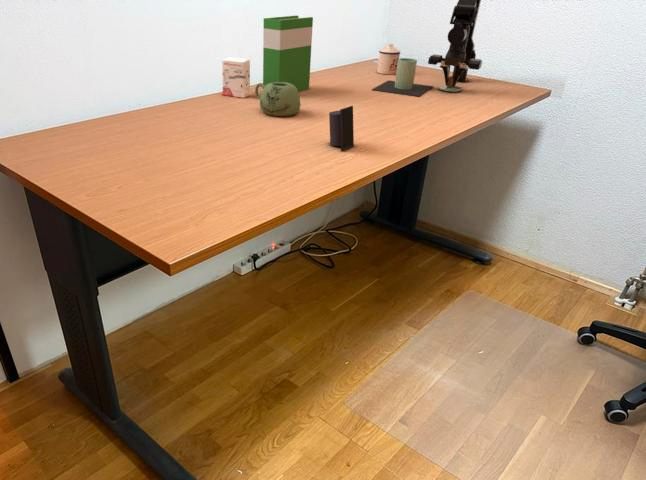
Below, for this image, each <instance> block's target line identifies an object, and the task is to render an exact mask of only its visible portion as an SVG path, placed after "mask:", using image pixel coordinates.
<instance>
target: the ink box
mask: <svg viewBox="0 0 646 480" xmlns="http://www.w3.org/2000/svg"><path fill="white" fill-rule="evenodd" d="M250 63H251V60H250V59H248V58H241V57H233V56H231V57H229V56H228V57H226V58H224V59H222V60H221V69H222V74H221V75H222V95H223V96H227V97H234V98H242V99H244V98H247V97H249V96H250V95H251V64H250Z"/></svg>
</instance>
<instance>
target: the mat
mask: <svg viewBox="0 0 646 480" xmlns="http://www.w3.org/2000/svg"><path fill="white" fill-rule="evenodd" d="M394 86H395V80H387V81H385V82H383V83H381V84H379V85H377V86H376V87H374V88H372V89H371V91H375V92H382V93H389V94H395V95H403V96H409V97H417V98H419V97H421V96H422V95H423V94H425V93H426V92H428V91H429V90H430V89H433V85H425V84H418V83H413V88H412V89H408V90H405V89H398V88H395V87H394Z"/></svg>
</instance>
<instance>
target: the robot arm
mask: <svg viewBox="0 0 646 480" xmlns="http://www.w3.org/2000/svg"><path fill="white" fill-rule="evenodd" d="M481 1H482V0H458V1H457V3H456V5H455V6H454V8H453V10H452V14H451V17H450V21H449V24H450V25H453V27H452V28H451V29H450V30H449V31H448V33H447V41H448V42H449V46H448V47H449V48H448V50H447V52H446V54H445V56H444V57H443V55H442V54H441V55H440V54H432V55H430V56H429V57H428V59H427V60H428V61H427V65H433V66H436V65H438V64H440V65H439V68H440V69H441V70H442V71H443V75H444V80H445V81H444V82H445V85H446V86H447V83H448V78H449V76H450V74H451V73H450V72H451V67H453V70H452V75H451V76H453V77H455V80H454V83H453V87H454V86H456V85H457V82H459V83H460V82H461V83H466V82H467V81H468V80H469V78H467V76H468V72H469V69H470V70H480V69H481V68H482V65H483V60H482V59H479V58H476V57H477V53H476V50H475V46H476V45H475V43H474V38H473V37H474V32H475V28H476V24H477V20H478V15H479V11H480V7H481Z"/></svg>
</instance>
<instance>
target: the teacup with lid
mask: <svg viewBox="0 0 646 480" xmlns="http://www.w3.org/2000/svg"><path fill="white" fill-rule="evenodd" d="M378 54H379V55H378V60H377V67H376V68H377V70H376V72H377V73H378V74H379V75H388V76H389V75H390V76H393V75H396V72H397V65H398V59H400V54H401V50H400V49H398V48H397V47H395V46H394V43H388V44H387V46H385V47H382V48H380V49H379V51H378Z"/></svg>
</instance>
